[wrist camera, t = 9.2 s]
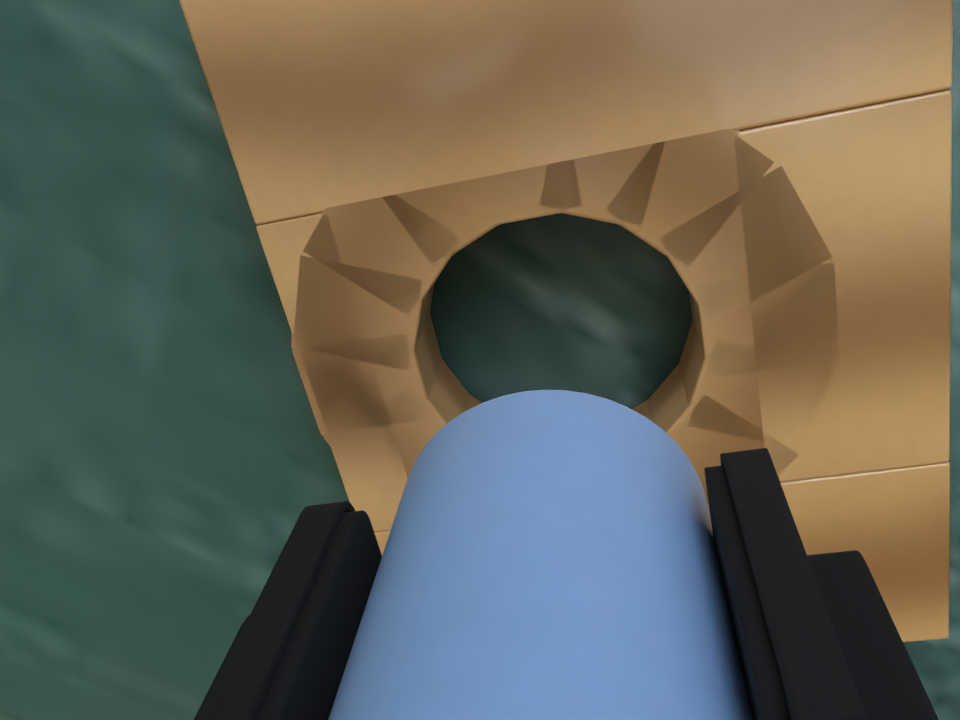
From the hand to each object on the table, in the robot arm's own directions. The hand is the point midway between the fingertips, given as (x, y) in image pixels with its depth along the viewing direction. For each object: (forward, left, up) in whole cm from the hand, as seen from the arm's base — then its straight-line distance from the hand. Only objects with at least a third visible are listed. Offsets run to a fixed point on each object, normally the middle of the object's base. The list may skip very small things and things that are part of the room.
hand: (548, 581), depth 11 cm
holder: (0, +1, -8) cm, 8 cm away
